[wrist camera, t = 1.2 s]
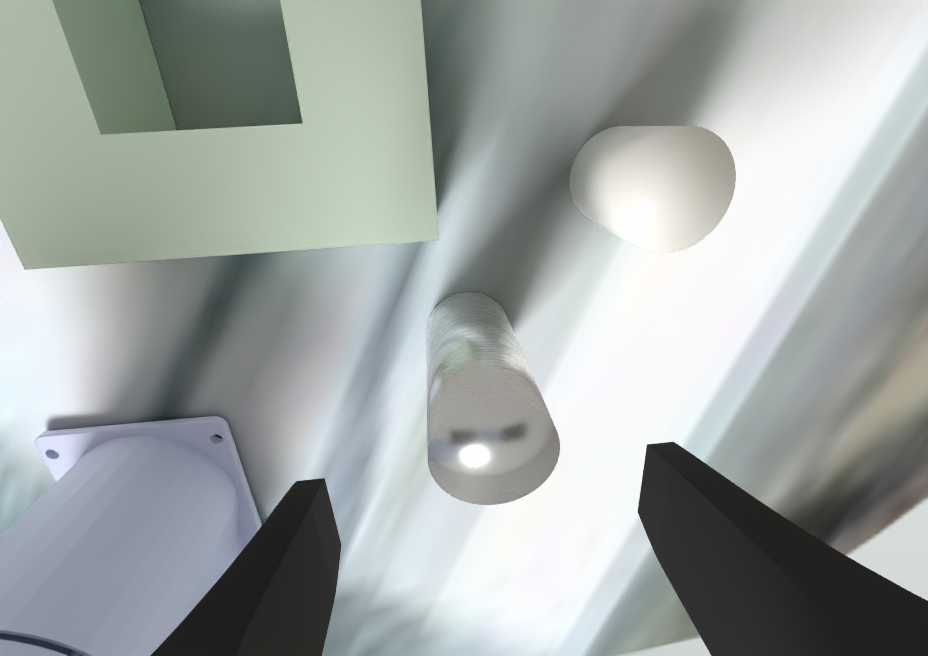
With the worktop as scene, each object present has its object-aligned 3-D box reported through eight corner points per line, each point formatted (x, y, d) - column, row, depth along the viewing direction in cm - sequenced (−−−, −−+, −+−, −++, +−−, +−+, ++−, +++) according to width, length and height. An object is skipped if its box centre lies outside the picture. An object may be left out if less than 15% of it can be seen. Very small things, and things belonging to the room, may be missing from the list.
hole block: (435, 216, 17) (439, 240, 13) (113, 238, 16) (24, 269, 13) (401, -230, 12) (392, -383, 8) (-65, -224, 11) (-292, -386, 8)
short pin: (654, 221, 18) (723, 248, 14) (567, 227, 18) (610, 257, 14) (667, 123, 16) (747, 122, 12) (571, 128, 16) (621, 129, 12)
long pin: (509, 363, 20) (557, 498, 13) (429, 370, 20) (433, 510, 13) (508, 288, 19) (562, 392, 11) (422, 295, 18) (421, 405, 11)
